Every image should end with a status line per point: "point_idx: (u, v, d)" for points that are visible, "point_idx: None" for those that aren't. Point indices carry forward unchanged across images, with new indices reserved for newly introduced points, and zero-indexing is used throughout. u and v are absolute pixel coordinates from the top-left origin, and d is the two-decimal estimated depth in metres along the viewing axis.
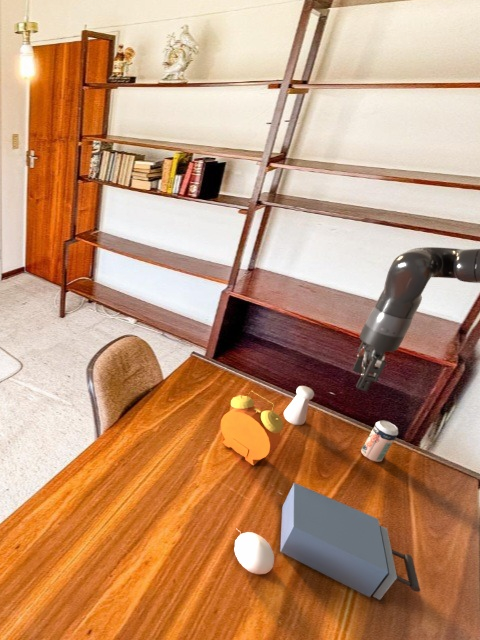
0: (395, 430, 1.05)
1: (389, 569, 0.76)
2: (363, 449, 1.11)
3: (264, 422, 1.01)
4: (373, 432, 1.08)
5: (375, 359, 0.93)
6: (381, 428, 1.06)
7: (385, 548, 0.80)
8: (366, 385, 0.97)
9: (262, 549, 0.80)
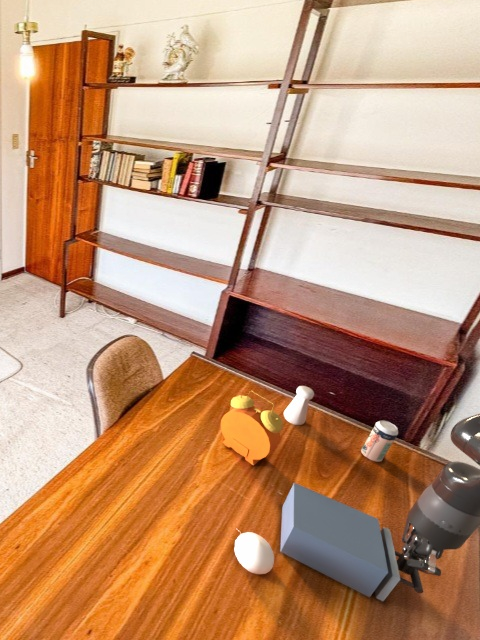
0: (395, 430, 1.05)
1: (392, 571, 0.76)
2: (363, 449, 1.11)
3: (264, 422, 1.01)
4: (373, 432, 1.08)
5: (426, 568, 0.71)
6: (381, 428, 1.06)
7: (388, 549, 0.80)
8: (411, 570, 0.77)
9: (262, 549, 0.80)
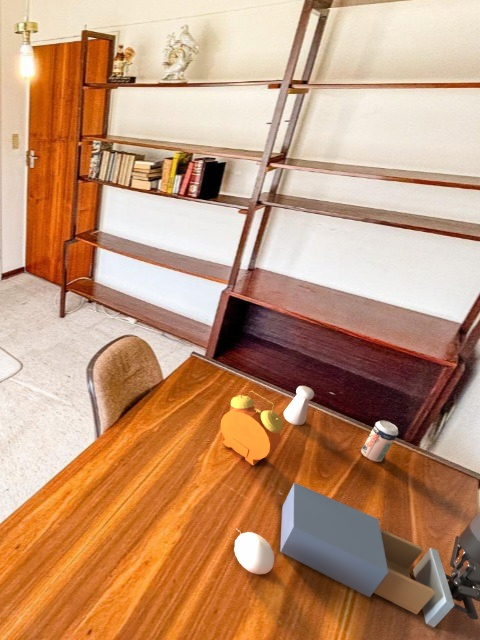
0: (395, 430, 1.05)
1: (445, 596, 0.73)
2: (363, 449, 1.11)
3: (264, 422, 1.01)
4: (373, 432, 1.08)
5: None
6: (381, 428, 1.06)
7: (438, 572, 0.76)
8: (461, 597, 0.74)
9: (262, 549, 0.80)
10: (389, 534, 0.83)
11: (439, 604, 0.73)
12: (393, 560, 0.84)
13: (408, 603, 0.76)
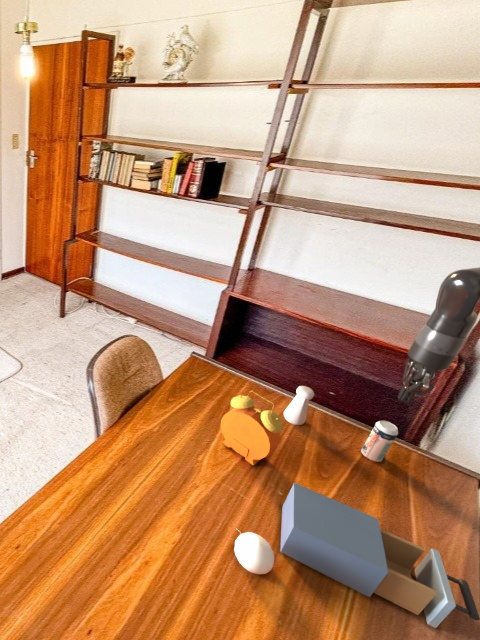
0: (395, 430, 1.05)
1: (447, 596, 0.72)
2: (363, 449, 1.11)
3: (264, 422, 1.01)
4: (373, 432, 1.08)
5: (421, 385, 0.94)
6: (381, 428, 1.06)
7: (440, 573, 0.76)
8: (409, 398, 1.00)
9: (262, 549, 0.80)
10: (390, 535, 0.83)
11: (440, 605, 0.73)
12: (394, 561, 0.84)
13: (409, 604, 0.76)
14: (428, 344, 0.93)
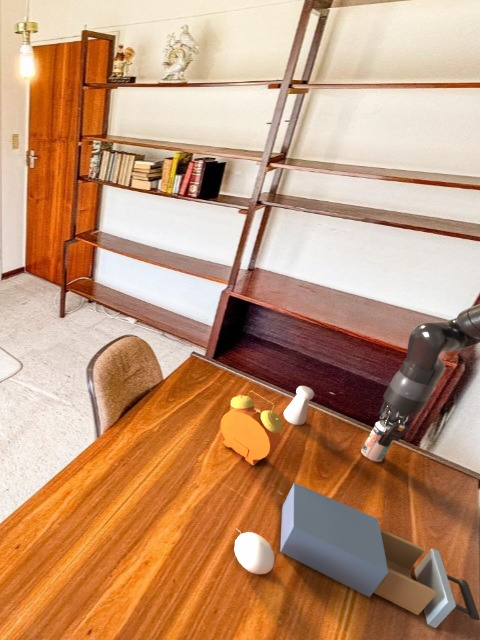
0: None
1: (447, 596, 0.72)
2: (363, 449, 1.11)
3: (264, 422, 1.01)
4: (373, 432, 1.08)
5: (398, 425, 0.99)
6: (381, 428, 1.06)
7: (440, 573, 0.76)
8: (388, 442, 1.04)
9: (262, 549, 0.80)
10: (390, 535, 0.83)
11: (440, 605, 0.73)
12: (394, 561, 0.84)
13: (409, 604, 0.76)
14: (401, 390, 1.00)
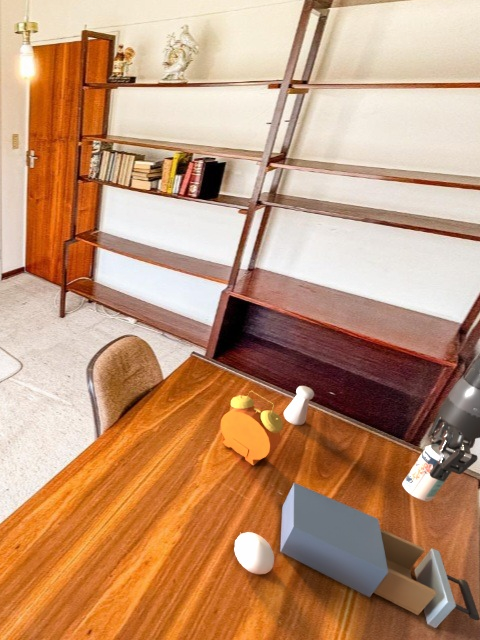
0: None
1: (447, 596, 0.72)
2: (407, 481, 0.83)
3: (264, 422, 1.01)
4: (422, 460, 0.81)
5: (462, 453, 0.72)
6: (433, 455, 0.79)
7: (440, 573, 0.76)
8: (445, 475, 0.77)
9: (262, 549, 0.80)
10: (390, 535, 0.83)
11: (440, 605, 0.73)
12: (394, 561, 0.84)
13: (409, 604, 0.76)
14: (466, 404, 0.72)
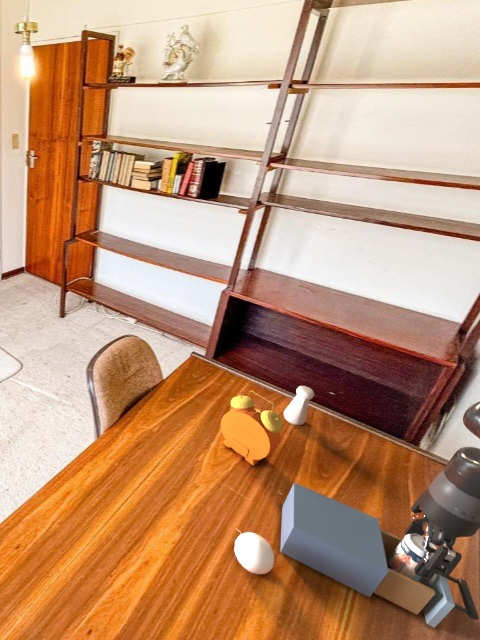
0: None
1: (446, 596, 0.72)
2: None
3: (264, 422, 1.01)
4: (401, 550, 0.78)
5: (446, 550, 0.68)
6: (413, 548, 0.76)
7: None
8: (430, 575, 0.72)
9: (262, 549, 0.80)
10: (389, 534, 0.83)
11: (440, 604, 0.73)
12: None
13: (409, 603, 0.76)
14: (447, 502, 0.69)
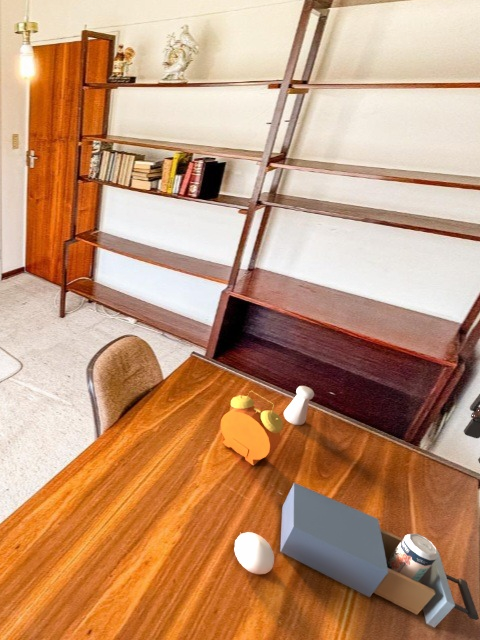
0: (433, 552, 0.74)
1: (446, 596, 0.72)
2: None
3: (264, 422, 1.01)
4: (401, 550, 0.78)
5: None
6: (413, 548, 0.76)
7: (439, 573, 0.76)
8: None
9: (262, 549, 0.80)
10: (389, 534, 0.83)
11: (440, 604, 0.73)
12: None
13: (409, 603, 0.76)
14: None
